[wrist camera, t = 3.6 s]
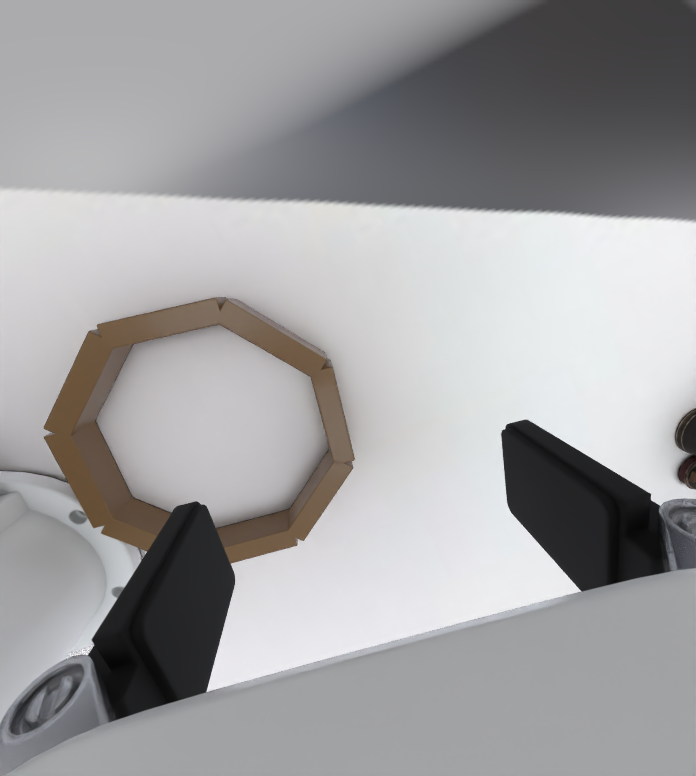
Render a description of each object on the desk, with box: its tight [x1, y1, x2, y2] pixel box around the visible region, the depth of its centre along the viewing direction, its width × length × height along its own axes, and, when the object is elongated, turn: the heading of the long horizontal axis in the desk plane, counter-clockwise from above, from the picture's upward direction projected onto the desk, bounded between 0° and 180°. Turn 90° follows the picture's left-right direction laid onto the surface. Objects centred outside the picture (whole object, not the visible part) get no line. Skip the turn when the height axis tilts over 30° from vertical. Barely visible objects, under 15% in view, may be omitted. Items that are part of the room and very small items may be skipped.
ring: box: [44, 297, 355, 564], centre depth 18 cm, size 14×14×2 cm
